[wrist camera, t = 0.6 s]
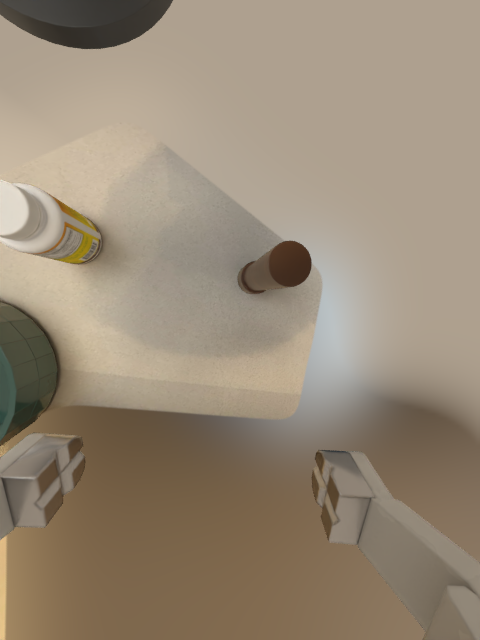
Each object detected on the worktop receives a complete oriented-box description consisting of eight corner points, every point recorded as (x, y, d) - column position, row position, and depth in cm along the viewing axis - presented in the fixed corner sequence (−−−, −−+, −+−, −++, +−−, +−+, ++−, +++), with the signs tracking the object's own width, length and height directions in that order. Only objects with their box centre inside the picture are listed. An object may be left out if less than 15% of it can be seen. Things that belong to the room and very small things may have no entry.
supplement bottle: (48, 216, 26) (-55, 163, 16) (101, 216, 26) (35, 166, 16) (55, 265, 26) (-40, 246, 16) (106, 264, 27) (45, 245, 17)
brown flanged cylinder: (233, 270, 29) (256, 246, 15) (260, 260, 30) (306, 228, 16) (243, 297, 30) (274, 298, 16) (269, 288, 30) (322, 280, 16)
